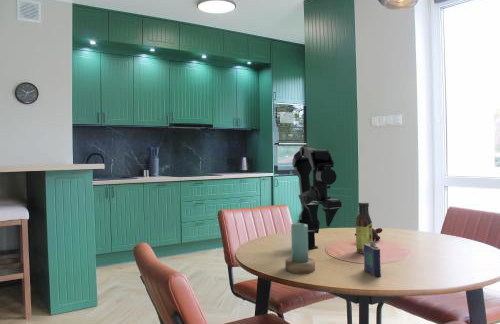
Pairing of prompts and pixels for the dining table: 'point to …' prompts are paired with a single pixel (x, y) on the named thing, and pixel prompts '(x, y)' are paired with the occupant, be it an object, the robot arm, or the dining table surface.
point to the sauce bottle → (363, 227)
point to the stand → (300, 266)
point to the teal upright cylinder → (299, 242)
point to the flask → (372, 259)
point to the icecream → (375, 234)
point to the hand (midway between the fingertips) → (320, 224)
